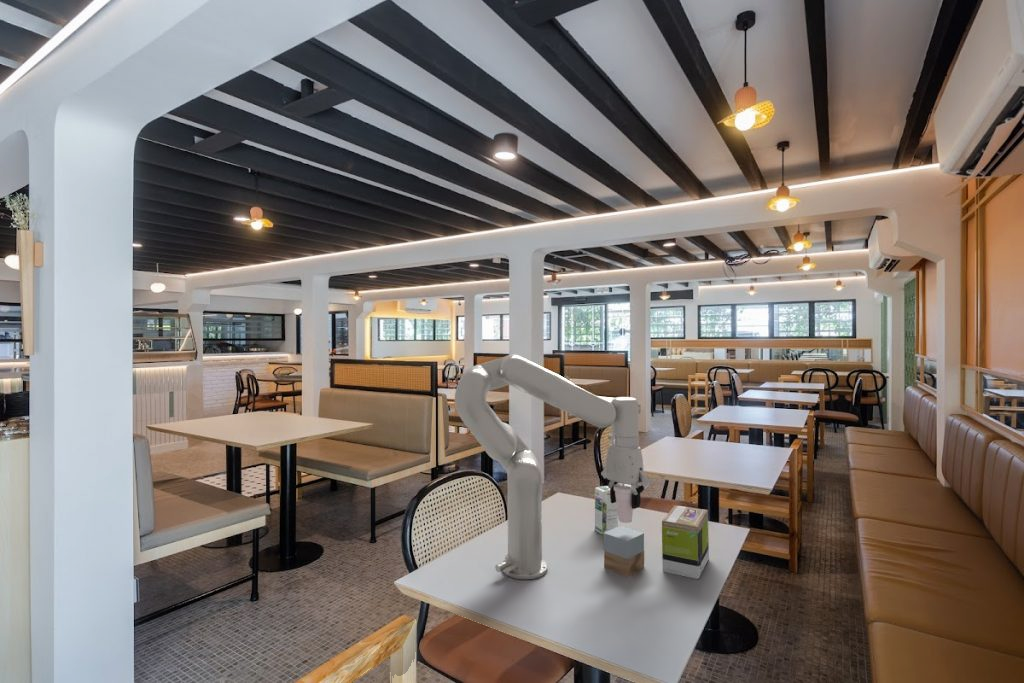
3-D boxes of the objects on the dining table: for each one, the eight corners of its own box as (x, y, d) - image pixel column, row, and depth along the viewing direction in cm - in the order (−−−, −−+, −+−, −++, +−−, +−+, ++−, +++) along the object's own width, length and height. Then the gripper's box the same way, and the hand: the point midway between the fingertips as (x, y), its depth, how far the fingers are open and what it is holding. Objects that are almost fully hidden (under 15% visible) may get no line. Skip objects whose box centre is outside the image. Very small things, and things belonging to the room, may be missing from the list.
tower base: (628, 577, 141) (628, 559, 141) (604, 568, 147) (604, 550, 147) (644, 568, 147) (644, 550, 147) (620, 559, 153) (620, 542, 153)
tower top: (627, 559, 141) (627, 541, 141) (603, 550, 147) (603, 532, 147) (643, 550, 147) (643, 533, 147) (620, 542, 153) (620, 525, 152)
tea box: (674, 552, 157) (674, 503, 157) (709, 559, 152) (709, 509, 152) (661, 572, 144) (661, 519, 144) (699, 580, 139) (699, 525, 139)
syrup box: (593, 530, 175) (593, 487, 174) (608, 527, 177) (608, 485, 177) (603, 536, 169) (603, 492, 169) (618, 533, 172) (618, 489, 172)
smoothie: (620, 514, 151) (620, 466, 151) (640, 519, 147) (640, 470, 147) (609, 521, 146) (609, 471, 146) (630, 526, 142) (630, 475, 142)
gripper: (591, 438, 150) (592, 501, 150) (644, 448, 138) (645, 515, 138) (607, 435, 155) (607, 495, 156) (659, 443, 143) (659, 508, 143)
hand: (625, 504), depth 147 cm, fingers closed on smoothie, 6 cm apart
